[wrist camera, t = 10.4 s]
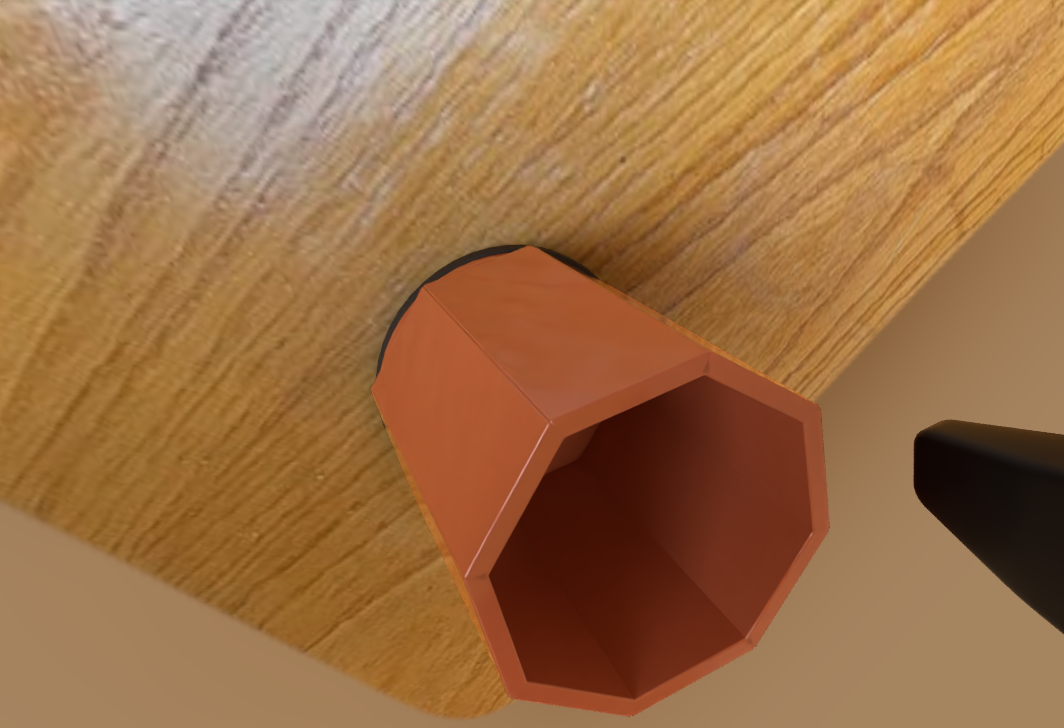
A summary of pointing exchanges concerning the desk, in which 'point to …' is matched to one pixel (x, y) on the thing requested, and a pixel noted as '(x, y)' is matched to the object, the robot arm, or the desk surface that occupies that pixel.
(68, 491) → the desk surface
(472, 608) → the octagonal orange cup
